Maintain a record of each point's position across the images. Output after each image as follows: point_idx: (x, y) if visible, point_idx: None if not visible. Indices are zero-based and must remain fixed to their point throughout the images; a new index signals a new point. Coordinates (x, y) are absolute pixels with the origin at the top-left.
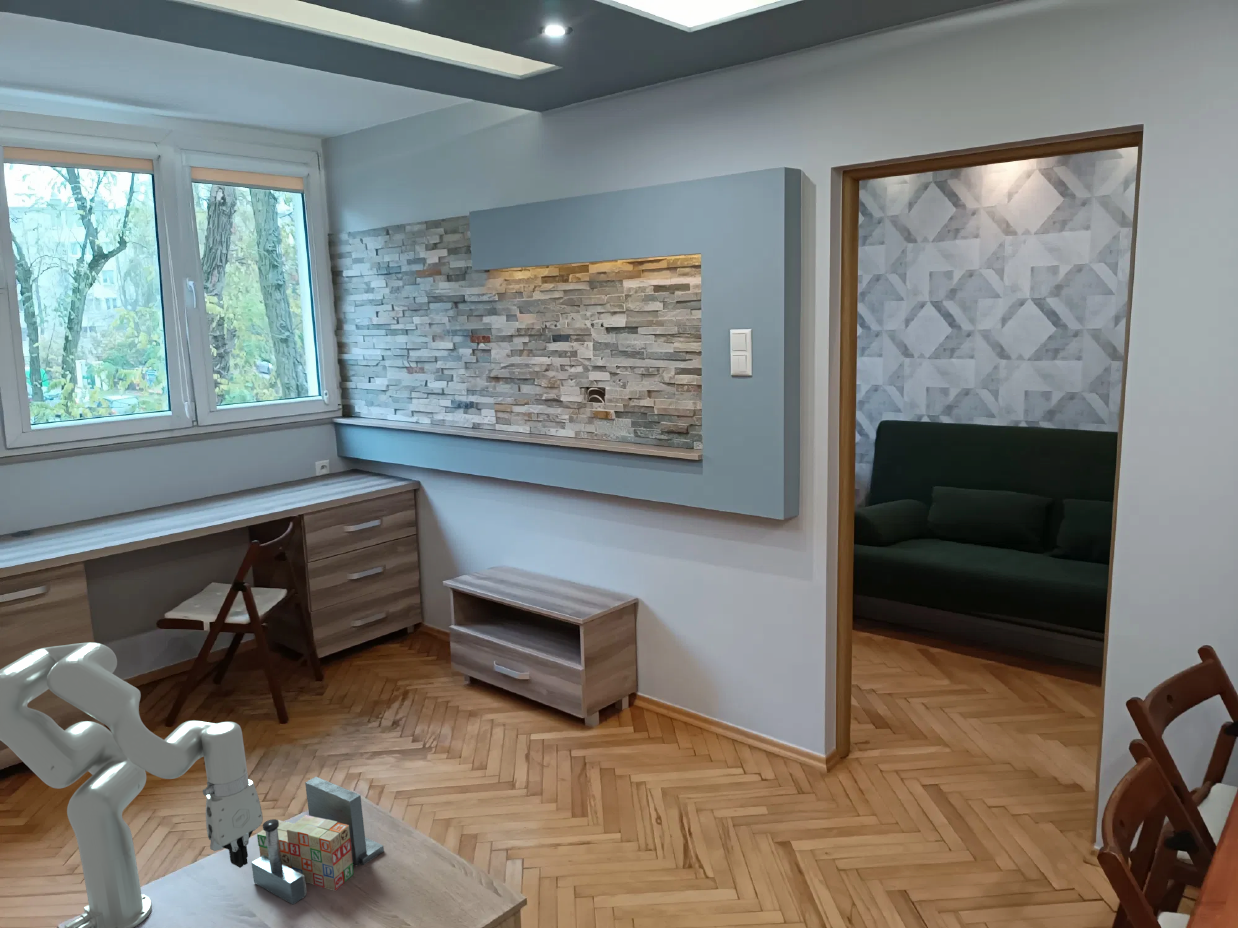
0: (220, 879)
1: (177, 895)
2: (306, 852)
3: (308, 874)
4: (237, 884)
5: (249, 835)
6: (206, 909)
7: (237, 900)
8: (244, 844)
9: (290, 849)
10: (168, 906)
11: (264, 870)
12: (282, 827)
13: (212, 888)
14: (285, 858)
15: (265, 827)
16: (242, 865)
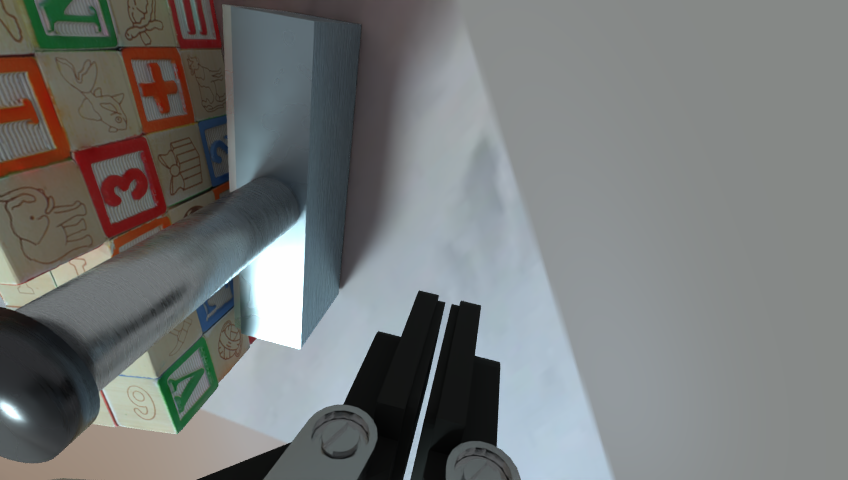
0: None
1: None
2: (95, 89)
3: (200, 80)
4: (370, 341)
5: (245, 476)
6: (517, 351)
7: (436, 282)
8: (361, 431)
9: (142, 212)
10: (544, 465)
11: (307, 257)
12: None
13: None
14: None
15: (55, 406)
16: (464, 303)
